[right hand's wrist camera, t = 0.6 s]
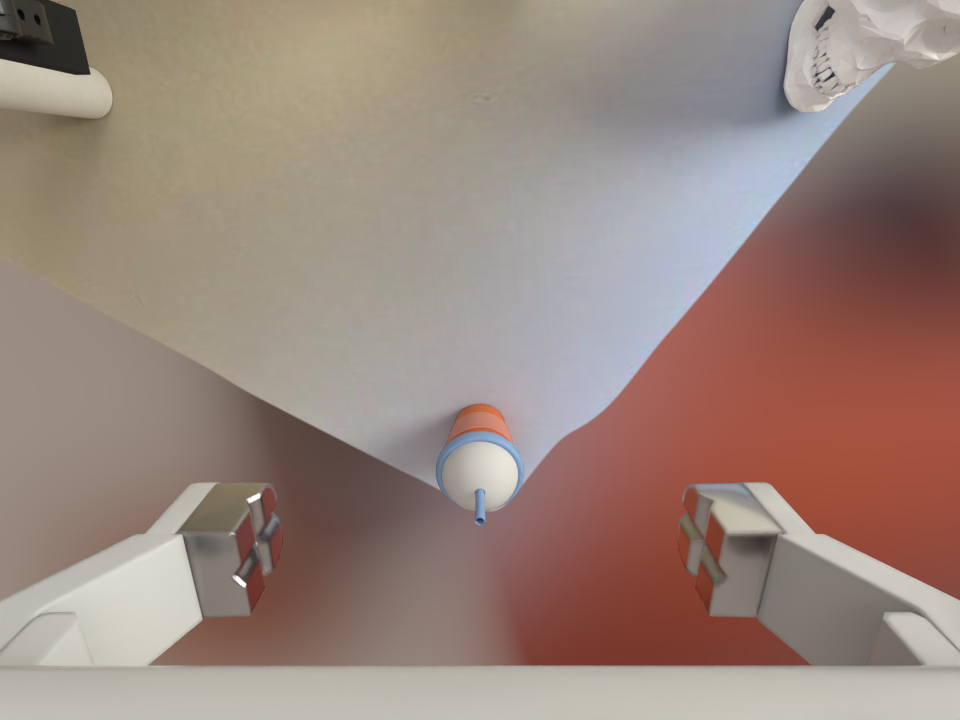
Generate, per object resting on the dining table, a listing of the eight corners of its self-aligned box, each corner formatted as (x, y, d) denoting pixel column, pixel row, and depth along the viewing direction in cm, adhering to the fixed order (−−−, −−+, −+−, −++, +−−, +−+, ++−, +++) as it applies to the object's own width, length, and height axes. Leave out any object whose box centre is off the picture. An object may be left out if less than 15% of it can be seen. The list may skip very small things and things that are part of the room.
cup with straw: (436, 451, 65) (420, 553, 48) (450, 384, 62) (439, 468, 45) (507, 465, 65) (517, 570, 48) (525, 400, 62) (542, 488, 45)
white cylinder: (121, 88, 51) (-82, 46, 32) (100, 129, 52) (-107, 111, 34) (75, 53, 50) (-161, -10, 31) (55, 96, 51) (-184, 58, 33)
